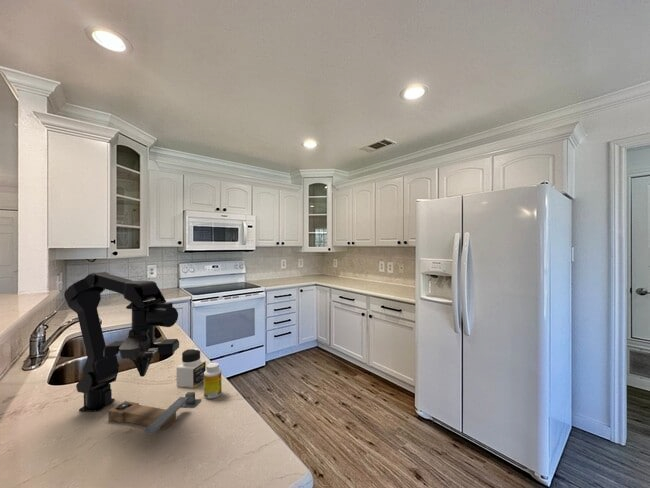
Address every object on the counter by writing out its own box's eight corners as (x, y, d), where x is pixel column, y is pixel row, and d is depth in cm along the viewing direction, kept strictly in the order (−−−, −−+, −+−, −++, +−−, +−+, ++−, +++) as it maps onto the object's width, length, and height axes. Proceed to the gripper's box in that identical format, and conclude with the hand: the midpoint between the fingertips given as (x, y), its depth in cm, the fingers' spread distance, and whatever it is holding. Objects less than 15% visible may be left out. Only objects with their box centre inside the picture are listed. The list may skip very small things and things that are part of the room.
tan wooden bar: (108, 419, 81) (108, 410, 81) (125, 409, 86) (125, 400, 86) (162, 430, 76) (162, 421, 76) (177, 419, 81) (177, 410, 81)
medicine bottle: (193, 388, 99) (193, 354, 99) (176, 386, 101) (175, 353, 101) (206, 378, 106) (205, 347, 106) (189, 377, 108) (189, 346, 108)
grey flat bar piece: (139, 446, 71) (139, 430, 71) (186, 400, 92) (186, 388, 92) (158, 446, 70) (158, 431, 70) (201, 400, 91) (200, 388, 91)
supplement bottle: (221, 397, 93) (221, 366, 93) (203, 400, 91) (203, 369, 91) (221, 389, 98) (221, 360, 98) (204, 392, 96) (204, 362, 96)
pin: (116, 419, 82) (116, 407, 82) (123, 413, 84) (123, 402, 84) (124, 419, 82) (124, 407, 82) (131, 414, 84) (131, 402, 84)
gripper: (90, 333, 75) (89, 392, 75) (164, 331, 77) (164, 387, 77) (115, 322, 86) (115, 373, 86) (180, 320, 88) (179, 369, 88)
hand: (142, 376), depth 84 cm, fingers closed
